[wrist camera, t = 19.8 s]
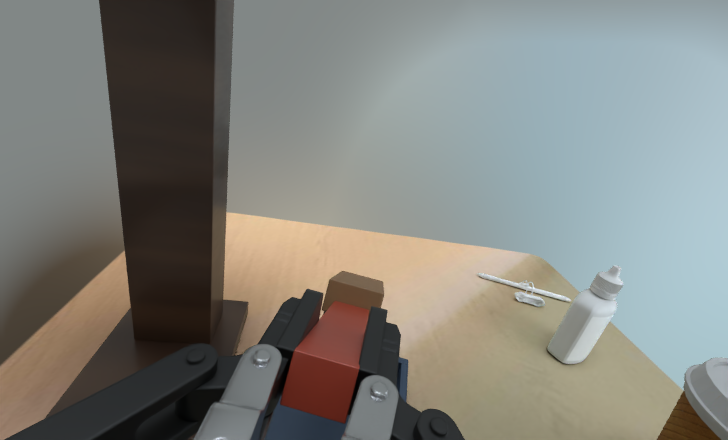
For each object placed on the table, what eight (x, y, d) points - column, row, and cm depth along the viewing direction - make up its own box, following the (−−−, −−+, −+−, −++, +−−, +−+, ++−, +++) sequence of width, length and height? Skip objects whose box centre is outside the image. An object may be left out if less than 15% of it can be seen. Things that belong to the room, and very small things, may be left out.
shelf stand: (205, 453, 23) (213, -218, 10) (35, 450, 21) (-224, -368, 8) (247, 313, 36) (275, -66, 23) (143, 304, 34) (108, -111, 21)
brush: (365, 430, 11) (388, 336, 11) (259, 399, 11) (284, 307, 11) (374, 317, 28) (383, 281, 28) (332, 306, 28) (342, 270, 28)
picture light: (569, 301, 51) (575, 289, 50) (579, 319, 47) (586, 307, 46) (475, 274, 53) (480, 263, 52) (478, 290, 49) (483, 278, 48)
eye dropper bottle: (600, 370, 38) (658, 283, 33) (553, 363, 38) (606, 274, 33) (578, 341, 42) (627, 260, 37) (535, 334, 42) (580, 251, 37)
